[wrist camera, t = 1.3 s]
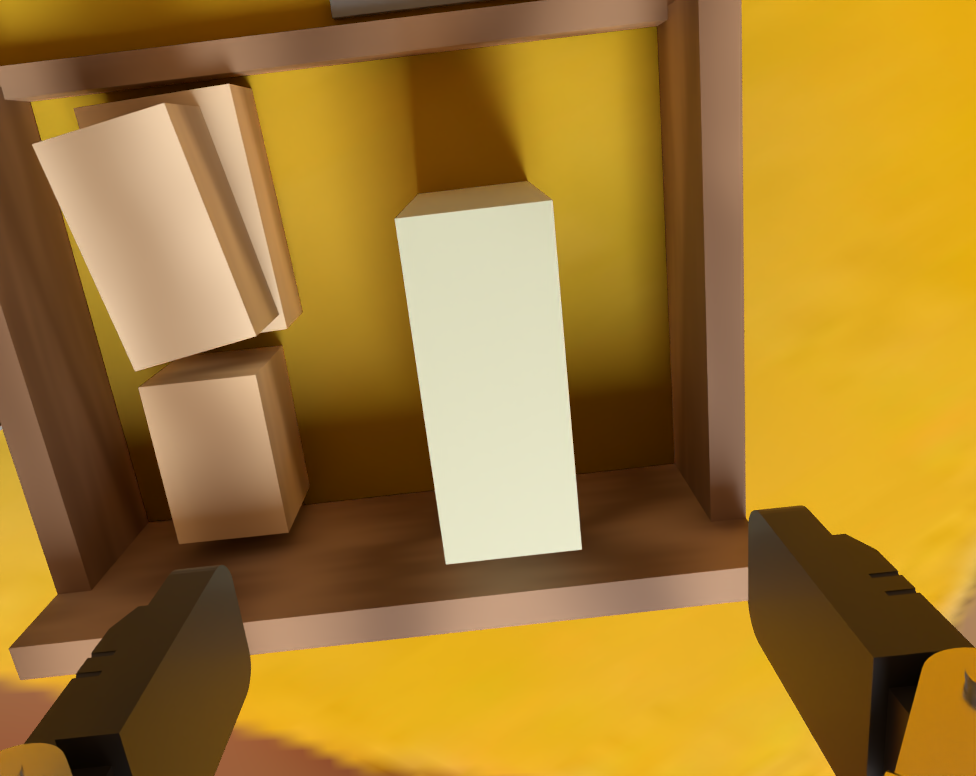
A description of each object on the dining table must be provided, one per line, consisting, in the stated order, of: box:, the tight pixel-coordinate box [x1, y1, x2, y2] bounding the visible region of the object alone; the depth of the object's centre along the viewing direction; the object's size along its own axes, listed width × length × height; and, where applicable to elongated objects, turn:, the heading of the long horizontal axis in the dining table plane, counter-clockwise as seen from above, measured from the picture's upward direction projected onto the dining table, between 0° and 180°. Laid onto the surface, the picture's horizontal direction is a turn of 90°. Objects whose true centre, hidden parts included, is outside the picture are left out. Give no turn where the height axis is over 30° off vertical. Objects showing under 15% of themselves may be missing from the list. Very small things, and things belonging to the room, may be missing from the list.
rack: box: [0, 0, 749, 680], centre depth 25 cm, size 24×19×8 cm
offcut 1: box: [32, 103, 279, 371], centre depth 24 cm, size 4×7×3 cm, turn 16°
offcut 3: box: [138, 345, 310, 544], centre depth 29 cm, size 4×6×4 cm, turn 6°
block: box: [395, 181, 582, 564], centre depth 25 cm, size 4×10×9 cm, turn 6°
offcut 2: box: [74, 84, 303, 333], centre depth 27 cm, size 5×8×3 cm, turn 8°
